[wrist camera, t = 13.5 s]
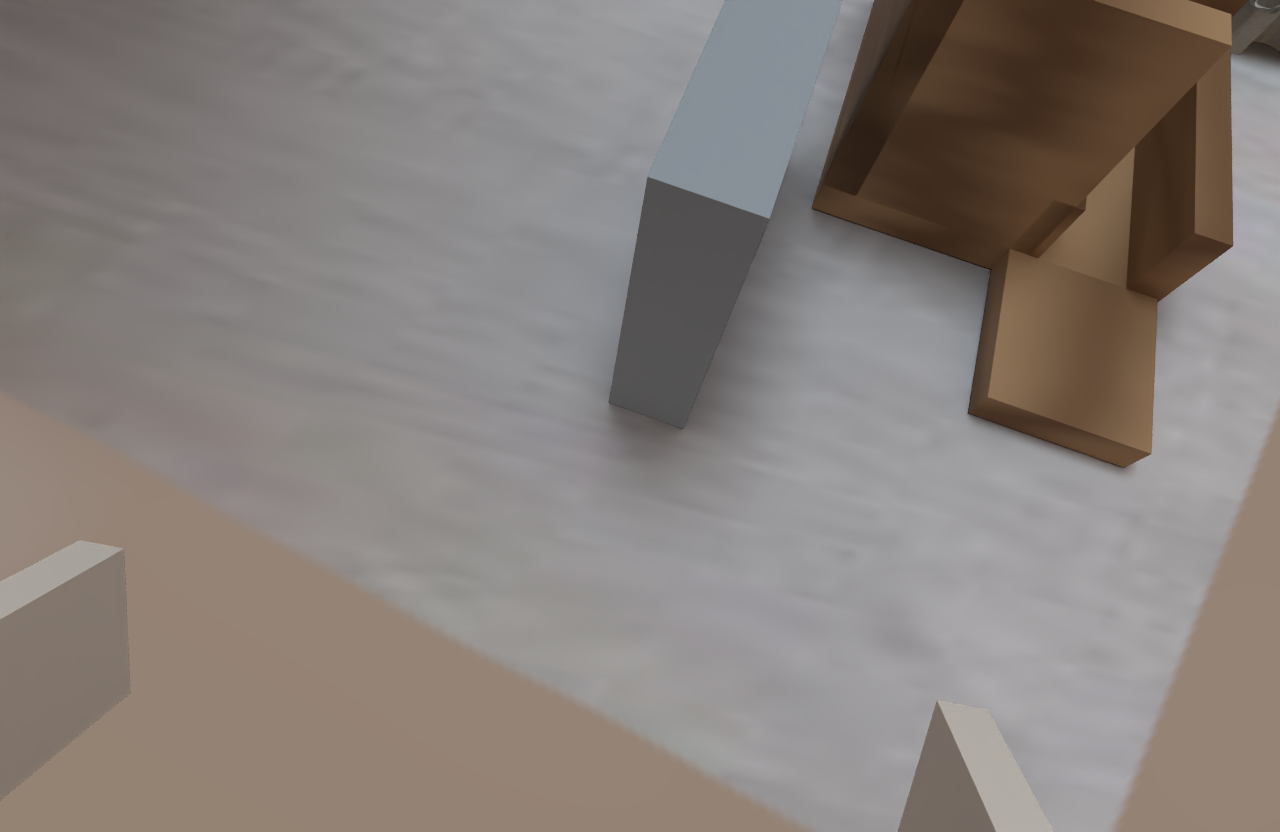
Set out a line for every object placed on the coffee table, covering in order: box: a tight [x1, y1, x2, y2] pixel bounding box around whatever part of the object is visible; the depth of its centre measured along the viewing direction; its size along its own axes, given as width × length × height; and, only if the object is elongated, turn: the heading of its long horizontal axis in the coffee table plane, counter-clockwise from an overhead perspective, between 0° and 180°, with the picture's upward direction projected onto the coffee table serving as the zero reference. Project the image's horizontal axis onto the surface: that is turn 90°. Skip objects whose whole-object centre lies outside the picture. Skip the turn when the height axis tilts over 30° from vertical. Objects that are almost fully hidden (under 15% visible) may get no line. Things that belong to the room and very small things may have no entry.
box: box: [812, 0, 1248, 467], centre depth 24 cm, size 12×18×10 cm, turn 161°
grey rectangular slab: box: [609, 0, 843, 429], centre depth 21 cm, size 2×12×10 cm, turn 162°
